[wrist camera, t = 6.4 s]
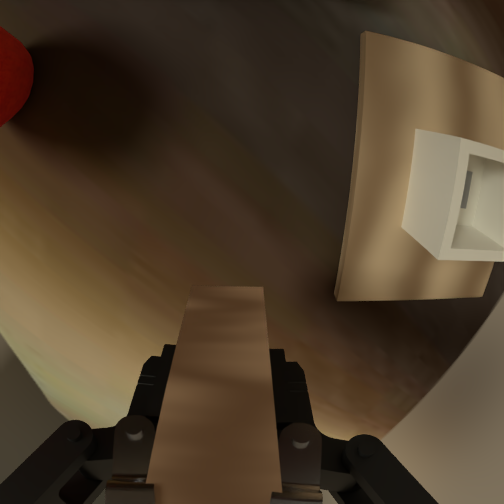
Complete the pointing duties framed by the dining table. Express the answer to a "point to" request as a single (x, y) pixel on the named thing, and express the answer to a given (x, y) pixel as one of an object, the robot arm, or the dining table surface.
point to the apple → (13, 75)
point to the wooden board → (409, 167)
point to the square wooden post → (218, 405)
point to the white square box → (456, 198)
